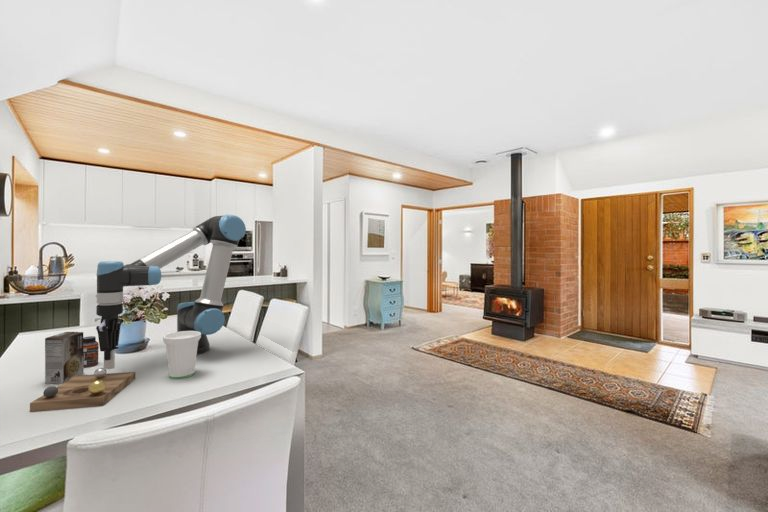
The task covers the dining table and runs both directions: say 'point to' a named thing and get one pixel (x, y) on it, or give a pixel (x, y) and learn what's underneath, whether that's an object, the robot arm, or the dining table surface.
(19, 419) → the dining table surface
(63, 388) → the wooden board
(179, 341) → the cup
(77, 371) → the coffee box
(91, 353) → the supplement bottle
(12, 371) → the dining table surface
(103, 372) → the steel ball
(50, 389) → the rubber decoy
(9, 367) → the dining table surface
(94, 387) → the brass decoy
